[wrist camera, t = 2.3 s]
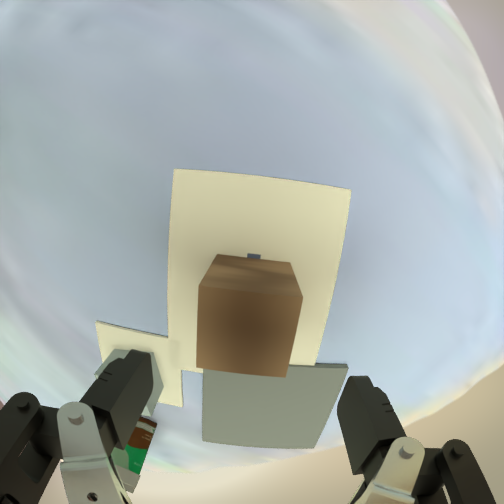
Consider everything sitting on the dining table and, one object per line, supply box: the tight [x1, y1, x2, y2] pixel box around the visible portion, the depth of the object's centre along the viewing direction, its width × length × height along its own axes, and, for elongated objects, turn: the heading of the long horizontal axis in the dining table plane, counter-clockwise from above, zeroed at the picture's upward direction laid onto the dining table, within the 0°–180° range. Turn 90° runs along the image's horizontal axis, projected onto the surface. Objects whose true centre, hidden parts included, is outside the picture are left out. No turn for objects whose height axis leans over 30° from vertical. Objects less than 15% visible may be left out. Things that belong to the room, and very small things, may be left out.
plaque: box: [95, 321, 183, 407], centre depth 22 cm, size 8×8×1 cm
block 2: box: [196, 254, 303, 378], centre depth 16 cm, size 5×5×6 cm
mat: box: [202, 364, 349, 449], centre depth 22 cm, size 12×12×1 cm
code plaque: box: [167, 169, 351, 373], centre depth 19 cm, size 12×16×1 cm
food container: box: [111, 417, 157, 493], centre depth 20 cm, size 12×6×10 cm, turn 146°
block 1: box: [94, 349, 164, 416], centre depth 20 cm, size 4×4×4 cm
